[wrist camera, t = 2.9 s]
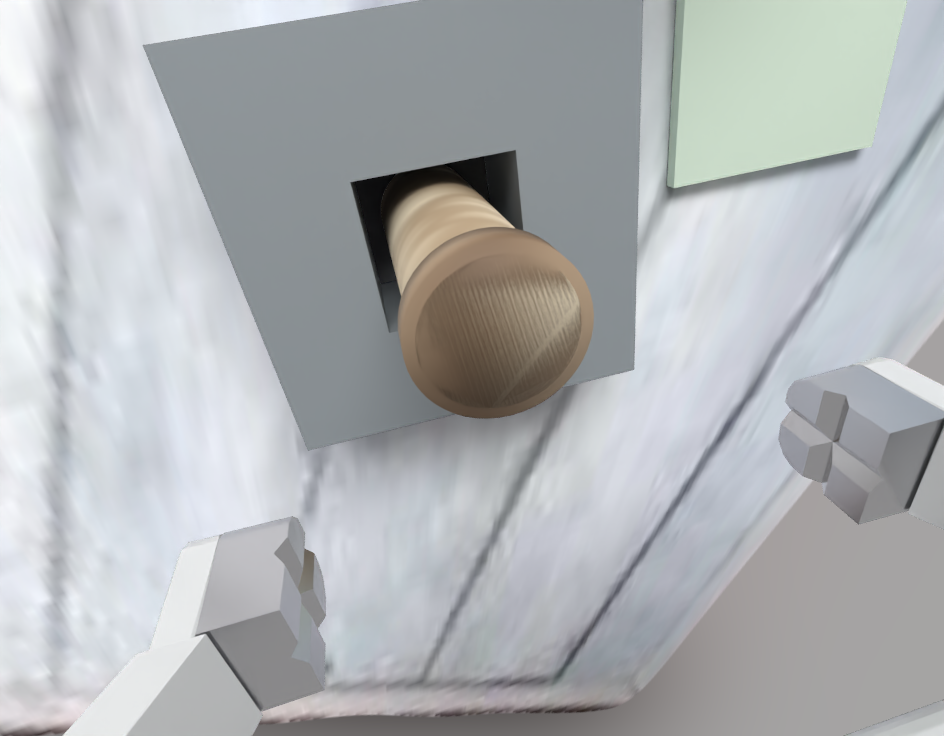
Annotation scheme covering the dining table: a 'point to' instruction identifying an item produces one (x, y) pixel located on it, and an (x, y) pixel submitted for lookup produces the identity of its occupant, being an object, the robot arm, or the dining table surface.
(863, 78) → the mat
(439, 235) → the plug
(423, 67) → the socket
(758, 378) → the dining table surface
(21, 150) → the dining table surface
